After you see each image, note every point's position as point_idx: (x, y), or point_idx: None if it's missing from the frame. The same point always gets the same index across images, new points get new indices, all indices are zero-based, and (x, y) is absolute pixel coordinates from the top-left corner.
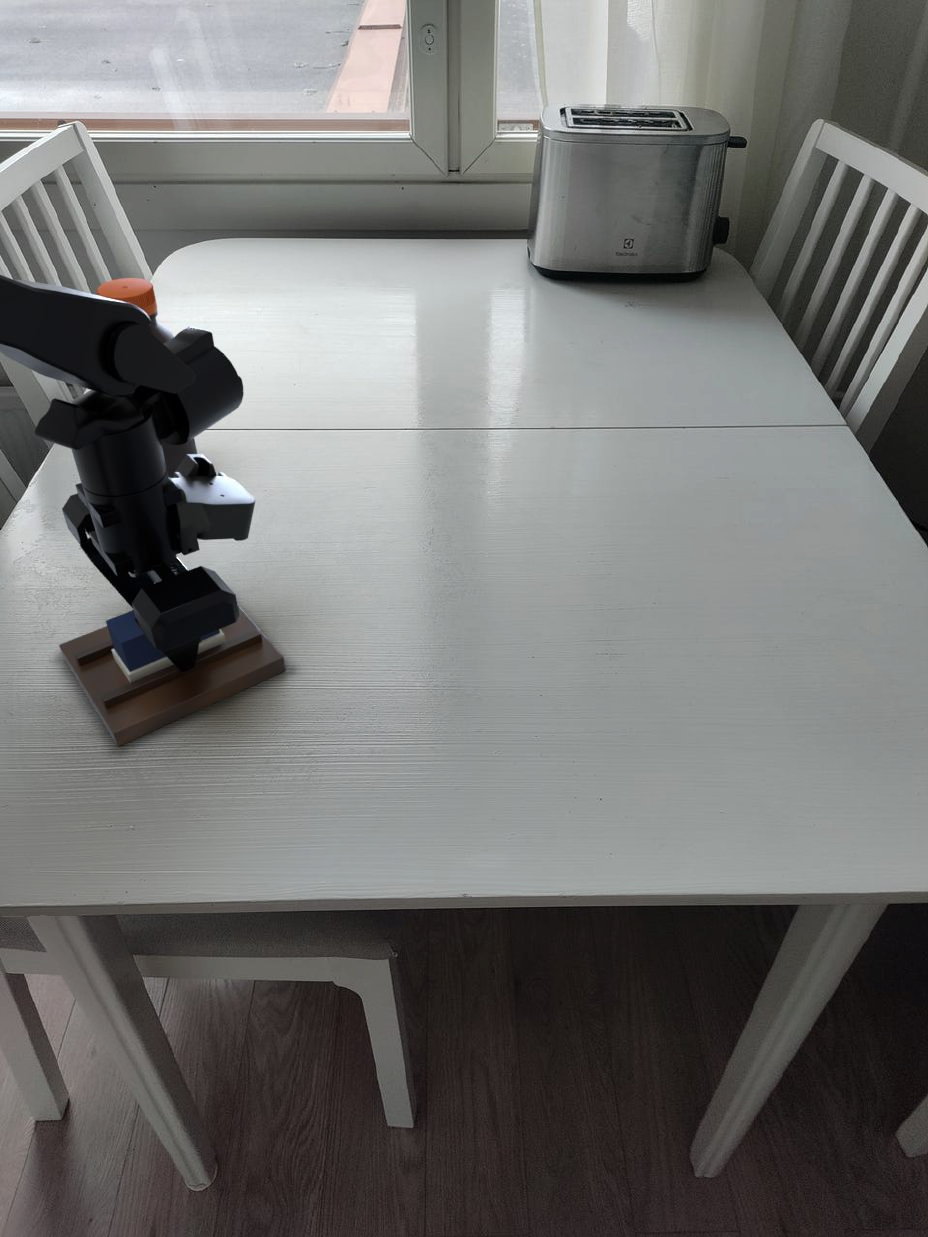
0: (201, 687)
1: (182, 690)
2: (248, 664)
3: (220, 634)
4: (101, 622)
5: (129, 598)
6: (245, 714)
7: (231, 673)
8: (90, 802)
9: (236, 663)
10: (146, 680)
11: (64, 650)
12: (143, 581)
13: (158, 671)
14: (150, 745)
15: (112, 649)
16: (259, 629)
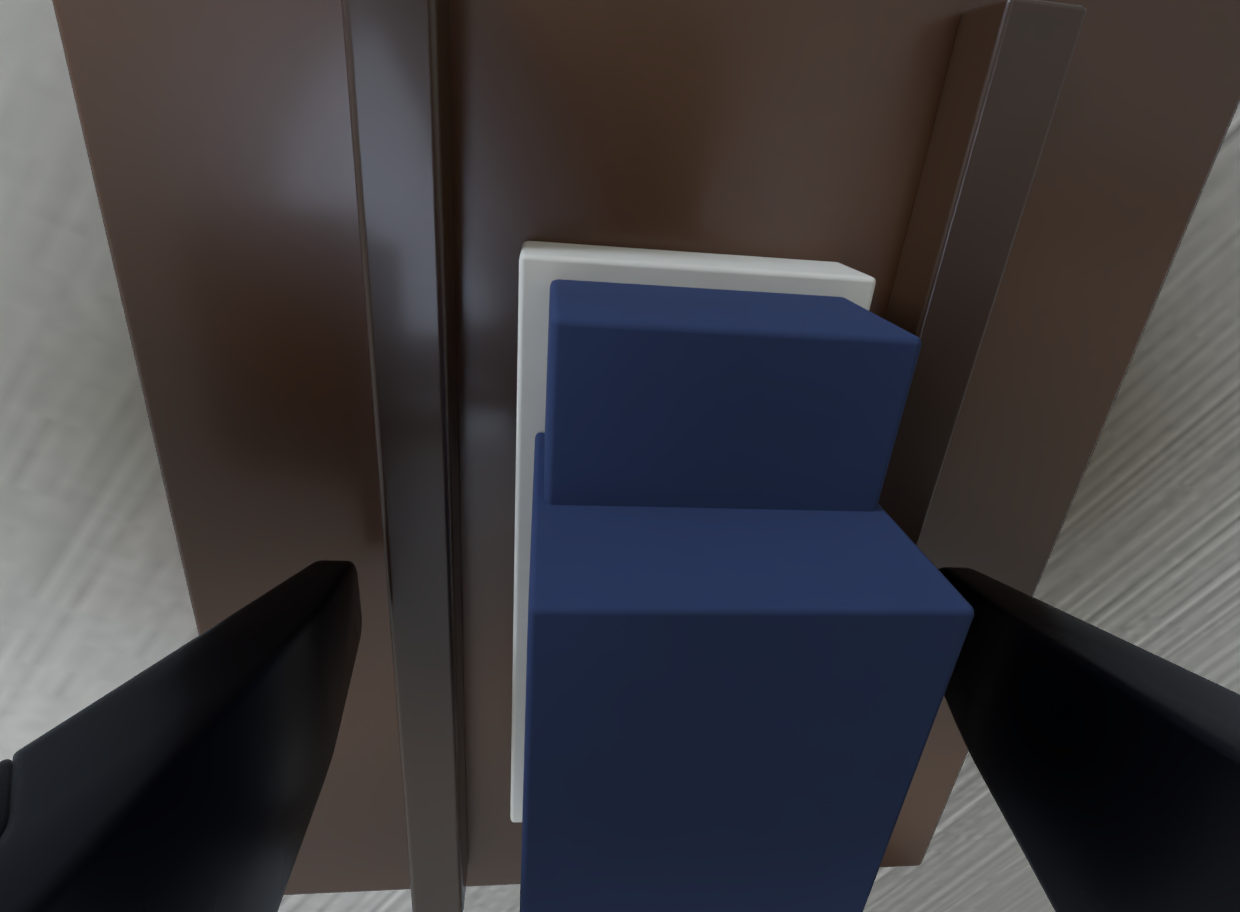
0: (1011, 544)
1: None
2: (1107, 251)
3: (855, 302)
4: (82, 643)
5: (279, 877)
6: (1172, 392)
7: (1072, 376)
8: (998, 889)
9: (1042, 311)
10: None
11: (316, 889)
12: (177, 885)
13: None
14: None
15: (517, 821)
16: None
